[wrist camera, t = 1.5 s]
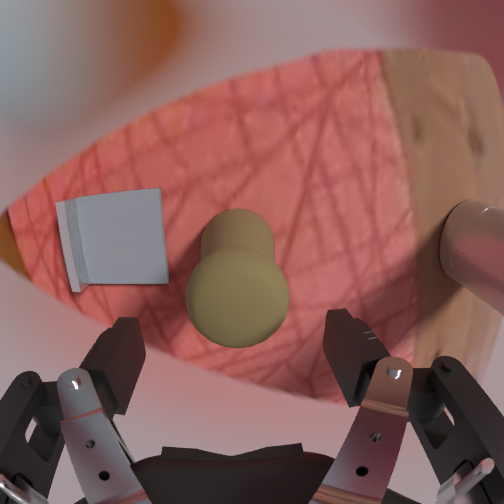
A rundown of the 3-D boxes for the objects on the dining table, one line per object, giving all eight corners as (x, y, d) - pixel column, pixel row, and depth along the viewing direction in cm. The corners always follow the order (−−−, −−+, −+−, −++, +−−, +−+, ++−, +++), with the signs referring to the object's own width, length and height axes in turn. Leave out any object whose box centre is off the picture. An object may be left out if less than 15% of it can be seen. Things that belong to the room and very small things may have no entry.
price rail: (79, 196, 20) (64, 201, 18) (92, 280, 23) (80, 292, 20) (71, 198, 20) (55, 202, 18) (84, 280, 23) (72, 291, 20)
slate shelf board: (160, 187, 21) (158, 188, 20) (170, 280, 23) (168, 283, 22) (79, 196, 20) (75, 197, 20) (92, 280, 23) (90, 283, 22)
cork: (246, 291, 24) (252, 382, 13) (186, 253, 22) (148, 327, 12) (289, 236, 22) (330, 299, 12) (228, 193, 21) (217, 221, 11)
